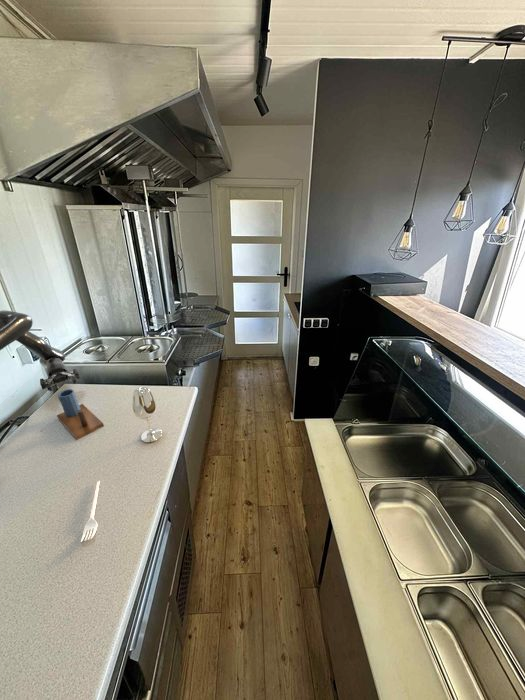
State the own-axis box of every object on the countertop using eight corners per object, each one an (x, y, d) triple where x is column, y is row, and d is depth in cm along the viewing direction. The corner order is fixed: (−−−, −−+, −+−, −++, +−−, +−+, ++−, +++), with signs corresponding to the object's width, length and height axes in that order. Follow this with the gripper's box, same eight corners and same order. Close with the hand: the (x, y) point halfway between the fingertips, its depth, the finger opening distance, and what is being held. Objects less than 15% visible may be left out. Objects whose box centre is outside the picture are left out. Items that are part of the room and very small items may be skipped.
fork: (104, 480, 90) (103, 476, 89) (94, 542, 73) (92, 538, 73) (93, 483, 89) (91, 479, 88) (80, 547, 72) (78, 542, 72)
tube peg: (77, 416, 117) (69, 396, 112) (63, 417, 116) (55, 397, 112) (83, 408, 121) (76, 388, 117) (70, 409, 121) (62, 389, 117)
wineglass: (137, 435, 108) (125, 391, 100) (157, 425, 113) (147, 382, 104) (145, 446, 103) (133, 401, 94) (166, 435, 108) (156, 391, 99)
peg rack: (76, 439, 107) (69, 422, 103) (57, 418, 118) (50, 401, 115) (103, 425, 114) (98, 408, 110) (83, 406, 125) (77, 390, 121)
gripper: (35, 369, 127) (39, 384, 116) (72, 359, 135) (79, 372, 124) (41, 383, 130) (45, 399, 119) (77, 373, 138) (84, 386, 127)
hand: (62, 385), depth 121 cm, fingers open, 8 cm apart
